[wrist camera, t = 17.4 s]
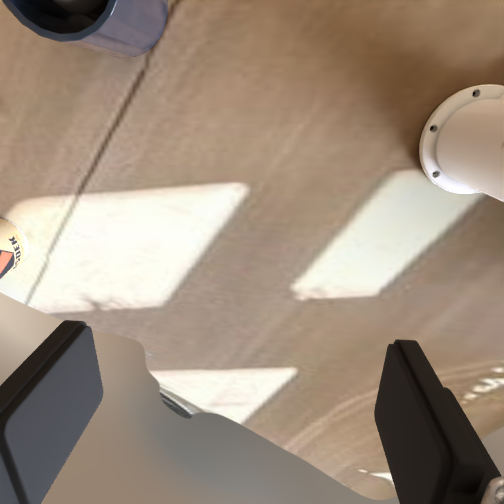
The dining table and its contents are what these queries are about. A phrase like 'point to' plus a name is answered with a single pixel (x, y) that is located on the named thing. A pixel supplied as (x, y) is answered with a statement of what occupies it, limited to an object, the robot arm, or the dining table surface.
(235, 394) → the dining table surface
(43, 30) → the dark grey mug
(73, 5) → the candle holder
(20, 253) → the coffee cup
